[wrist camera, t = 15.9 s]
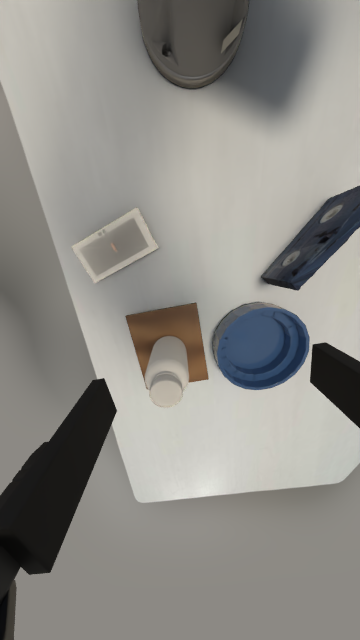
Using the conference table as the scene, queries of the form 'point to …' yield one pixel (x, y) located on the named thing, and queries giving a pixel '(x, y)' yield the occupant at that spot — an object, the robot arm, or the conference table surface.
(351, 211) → the vhs cassette tape
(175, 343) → the pill bottle
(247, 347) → the bowl
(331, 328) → the conference table surface
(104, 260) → the touchpad
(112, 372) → the conference table surface
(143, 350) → the mat
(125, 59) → the conference table surface
